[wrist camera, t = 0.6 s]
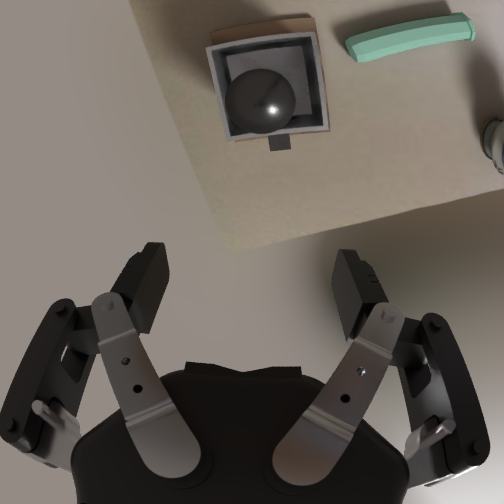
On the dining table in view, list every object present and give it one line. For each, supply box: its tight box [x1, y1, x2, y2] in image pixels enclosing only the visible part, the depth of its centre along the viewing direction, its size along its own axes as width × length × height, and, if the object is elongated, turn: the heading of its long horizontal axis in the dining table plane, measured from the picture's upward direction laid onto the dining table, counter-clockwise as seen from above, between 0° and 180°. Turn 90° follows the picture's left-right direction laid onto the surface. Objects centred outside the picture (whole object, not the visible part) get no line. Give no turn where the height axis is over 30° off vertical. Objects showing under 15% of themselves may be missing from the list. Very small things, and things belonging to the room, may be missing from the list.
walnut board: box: [211, 18, 330, 142], centre depth 36 cm, size 20×16×1 cm
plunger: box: [225, 46, 312, 134], centre depth 20 cm, size 8×8×17 cm
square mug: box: [206, 32, 329, 151], centre depth 31 cm, size 14×11×16 cm
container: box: [345, 12, 476, 62], centre depth 26 cm, size 6×6×25 cm
